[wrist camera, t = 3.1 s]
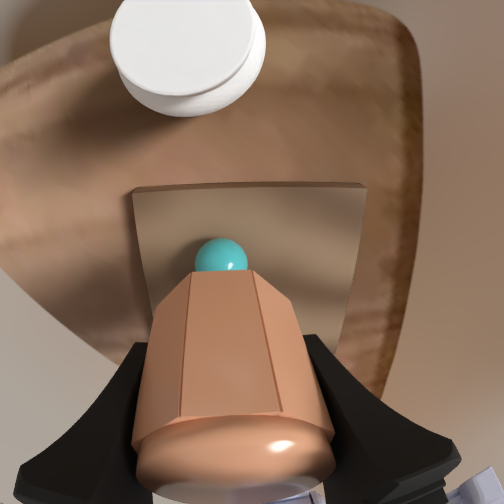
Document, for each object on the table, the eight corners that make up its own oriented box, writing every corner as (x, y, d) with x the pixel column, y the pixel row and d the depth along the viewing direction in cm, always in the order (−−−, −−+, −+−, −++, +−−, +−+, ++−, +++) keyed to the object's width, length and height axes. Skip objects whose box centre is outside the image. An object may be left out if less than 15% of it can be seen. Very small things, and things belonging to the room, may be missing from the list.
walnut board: (331, 344, 26) (335, 353, 24) (166, 355, 24) (164, 365, 23) (359, 183, 19) (367, 188, 18) (136, 187, 18) (131, 193, 17)
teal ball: (245, 272, 20) (250, 300, 17) (197, 274, 19) (195, 302, 17) (245, 228, 18) (250, 252, 16) (194, 230, 18) (191, 254, 15)
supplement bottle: (135, 89, 15) (54, 84, 6) (182, 10, 13) (150, -69, 4) (218, 127, 17) (218, 156, 8) (265, 50, 15) (318, 0, 6)
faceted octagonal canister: (283, 364, 14) (316, 496, 8) (170, 370, 14) (161, 506, 8) (294, 267, 12) (359, 427, 6) (149, 273, 11) (105, 441, 5)
